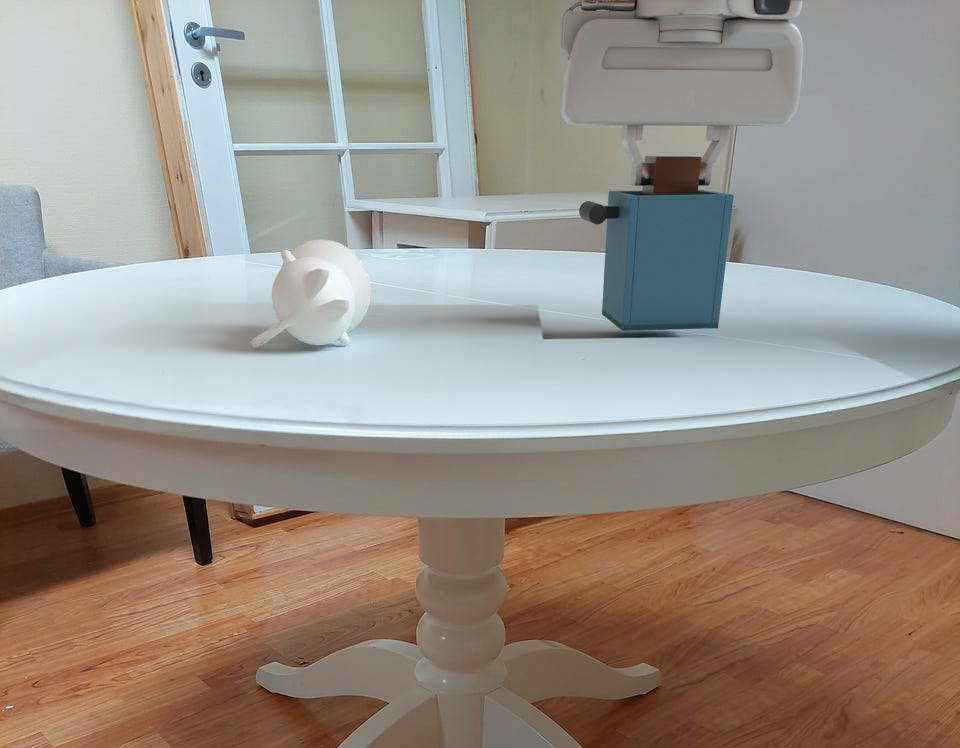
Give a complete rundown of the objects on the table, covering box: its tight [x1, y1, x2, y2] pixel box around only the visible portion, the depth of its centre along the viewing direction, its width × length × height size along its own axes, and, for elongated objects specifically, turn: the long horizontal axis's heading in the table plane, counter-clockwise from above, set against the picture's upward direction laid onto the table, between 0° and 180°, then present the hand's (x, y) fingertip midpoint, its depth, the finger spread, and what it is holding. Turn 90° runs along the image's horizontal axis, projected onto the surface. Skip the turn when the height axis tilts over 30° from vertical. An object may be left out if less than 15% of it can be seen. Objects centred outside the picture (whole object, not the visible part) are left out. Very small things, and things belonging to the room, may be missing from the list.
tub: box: [578, 189, 735, 332], centre depth 82 cm, size 12×9×11 cm
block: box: [641, 155, 703, 196], centre depth 79 cm, size 4×4×4 cm
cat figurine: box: [250, 238, 372, 349], centre depth 75 cm, size 9×11×12 cm
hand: (670, 185), depth 79 cm, fingers closed on block, 4 cm apart
